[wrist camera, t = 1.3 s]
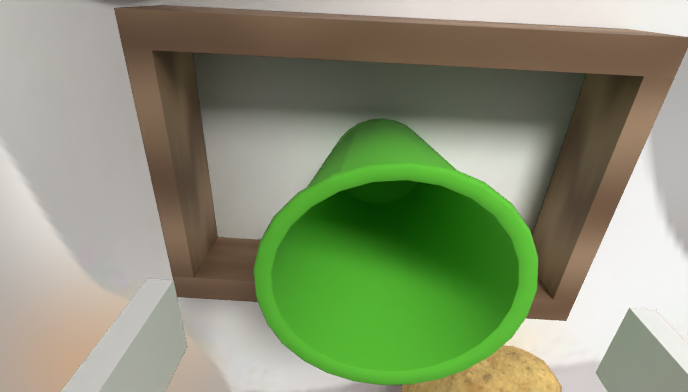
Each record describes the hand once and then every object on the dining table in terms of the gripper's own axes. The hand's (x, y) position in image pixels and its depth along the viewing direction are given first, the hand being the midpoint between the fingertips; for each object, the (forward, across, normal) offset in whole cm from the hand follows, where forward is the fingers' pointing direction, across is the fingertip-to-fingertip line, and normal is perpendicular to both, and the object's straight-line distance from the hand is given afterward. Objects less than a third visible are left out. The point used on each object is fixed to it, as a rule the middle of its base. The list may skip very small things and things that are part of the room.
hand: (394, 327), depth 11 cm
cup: (+12, 0, 0) cm, 12 cm away
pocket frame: (+12, 0, 0) cm, 12 cm away
